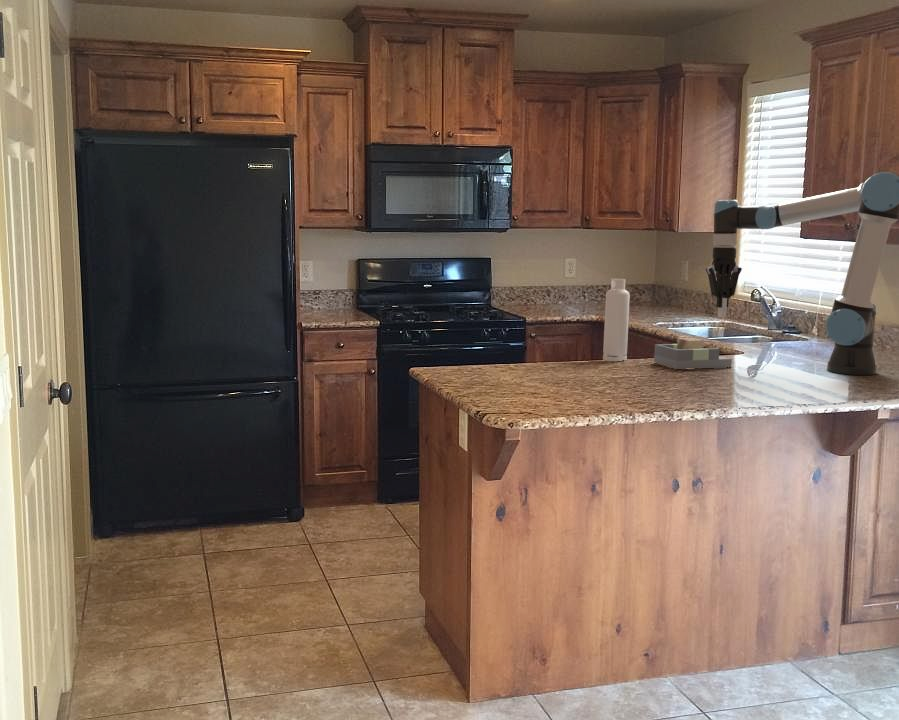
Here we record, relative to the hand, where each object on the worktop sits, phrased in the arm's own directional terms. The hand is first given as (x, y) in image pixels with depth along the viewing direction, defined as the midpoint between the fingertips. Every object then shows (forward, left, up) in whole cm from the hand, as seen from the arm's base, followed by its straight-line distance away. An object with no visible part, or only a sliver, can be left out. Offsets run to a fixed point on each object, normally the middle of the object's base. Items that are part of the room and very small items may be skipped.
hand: (722, 317), depth 330 cm
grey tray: (0, +10, -16) cm, 19 cm away
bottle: (+17, +30, -17) cm, 39 cm away
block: (0, +12, -13) cm, 18 cm away
